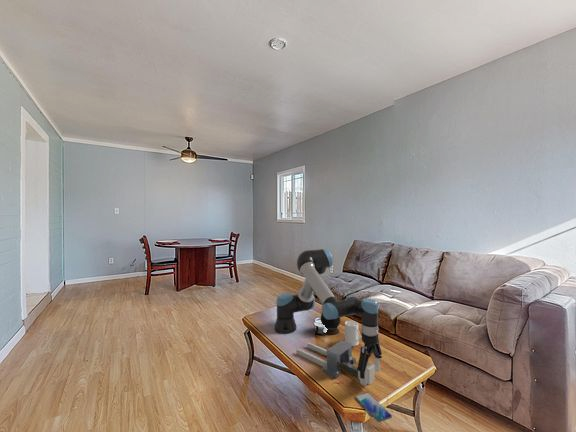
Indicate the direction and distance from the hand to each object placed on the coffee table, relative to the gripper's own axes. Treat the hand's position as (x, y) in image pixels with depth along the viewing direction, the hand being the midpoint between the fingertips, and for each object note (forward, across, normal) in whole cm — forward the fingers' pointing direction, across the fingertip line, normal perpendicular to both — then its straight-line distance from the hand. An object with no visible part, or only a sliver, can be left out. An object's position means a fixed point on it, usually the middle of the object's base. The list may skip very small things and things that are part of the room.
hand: (370, 377), depth 125 cm
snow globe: (+2, +31, +44) cm, 54 cm away
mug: (+2, +26, +24) cm, 35 cm away
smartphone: (+2, -15, -8) cm, 17 cm away
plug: (+2, 0, +7) cm, 7 cm away
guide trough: (+2, 0, +31) cm, 31 cm away
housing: (+2, 0, +17) cm, 17 cm away
